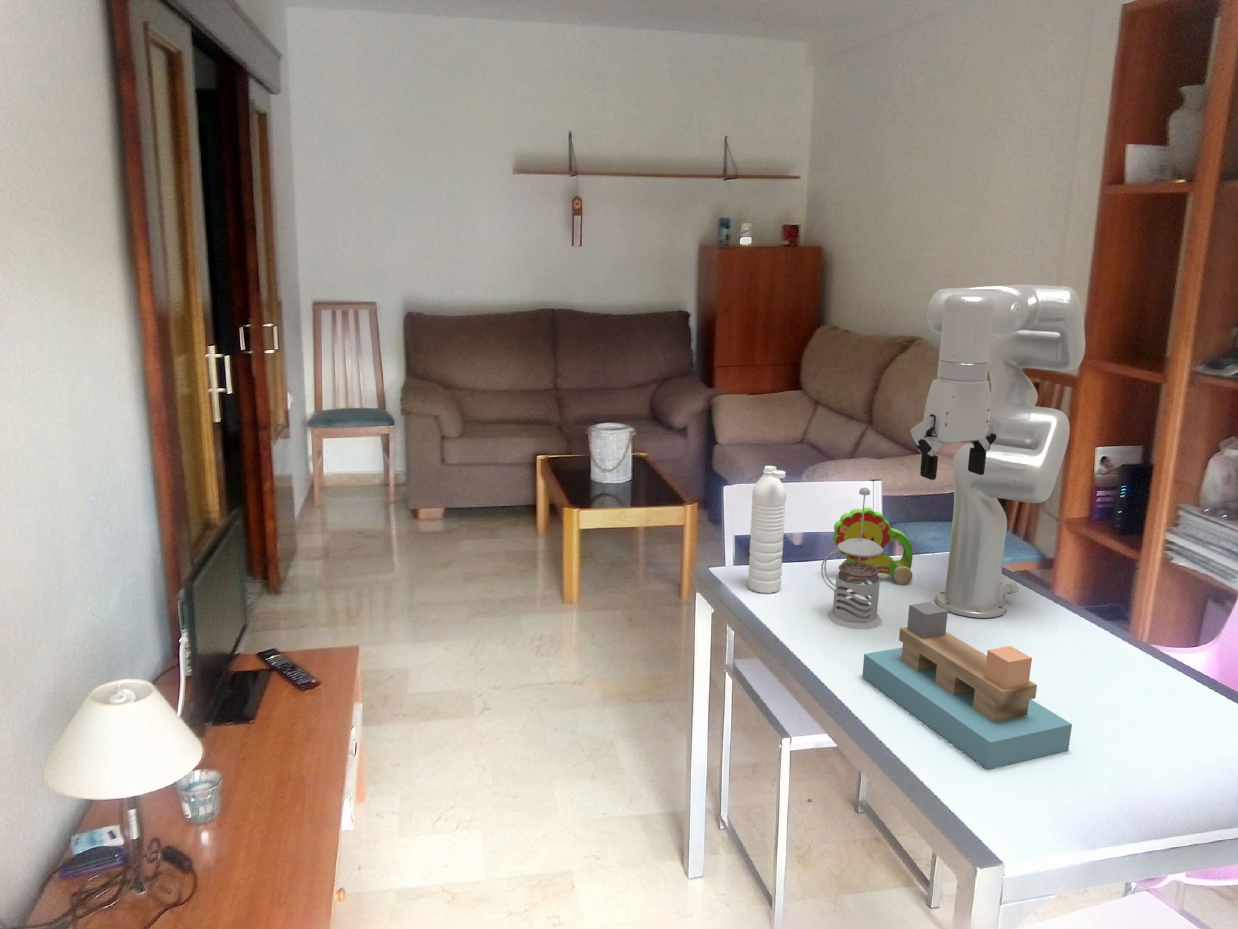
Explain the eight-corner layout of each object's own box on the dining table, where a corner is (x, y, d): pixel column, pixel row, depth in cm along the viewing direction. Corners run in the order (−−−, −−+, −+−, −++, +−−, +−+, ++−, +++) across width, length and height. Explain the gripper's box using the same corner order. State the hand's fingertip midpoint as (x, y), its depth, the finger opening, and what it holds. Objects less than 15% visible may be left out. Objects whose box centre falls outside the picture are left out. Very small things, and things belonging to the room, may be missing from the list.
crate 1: (928, 625, 146) (930, 601, 145) (945, 635, 143) (947, 611, 142) (907, 628, 145) (909, 604, 144) (923, 639, 141) (926, 614, 140)
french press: (873, 633, 165) (884, 498, 159) (810, 619, 171) (819, 488, 165) (889, 615, 173) (900, 485, 167) (828, 602, 179) (837, 476, 173)
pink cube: (1007, 672, 131) (1010, 645, 130) (1028, 684, 127) (1031, 657, 126) (984, 676, 130) (987, 650, 129) (1005, 689, 126) (1008, 662, 125)
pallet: (928, 652, 148) (931, 623, 147) (1032, 718, 129) (1037, 685, 127) (897, 657, 146) (899, 628, 145) (998, 725, 126) (1002, 692, 125)
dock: (934, 663, 153) (936, 641, 152) (1068, 750, 128) (1072, 724, 127) (862, 677, 149) (864, 654, 148) (987, 769, 123) (990, 742, 122)
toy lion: (906, 576, 193) (912, 506, 189) (912, 586, 187) (919, 514, 184) (828, 574, 194) (833, 503, 190) (832, 583, 188) (837, 511, 185)
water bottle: (743, 583, 188) (748, 463, 182) (773, 581, 189) (779, 461, 183) (759, 599, 180) (765, 474, 173) (790, 597, 181) (797, 472, 175)
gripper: (988, 366, 155) (978, 466, 160) (902, 371, 149) (894, 474, 154) (1022, 373, 149) (1010, 476, 153) (933, 378, 143) (923, 485, 147)
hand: (952, 475), depth 153 cm, fingers open, 9 cm apart
